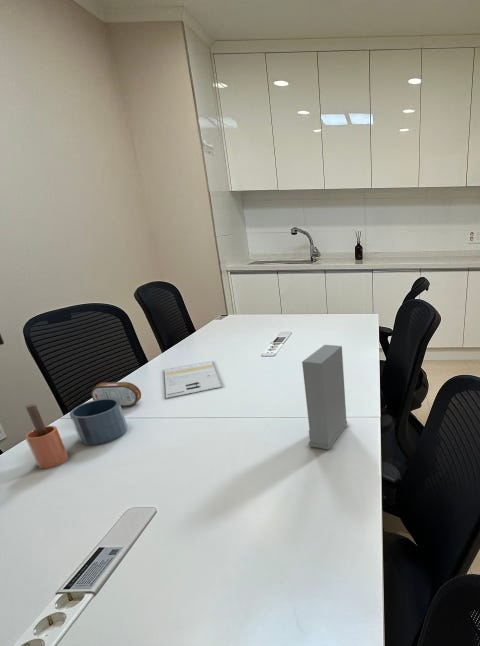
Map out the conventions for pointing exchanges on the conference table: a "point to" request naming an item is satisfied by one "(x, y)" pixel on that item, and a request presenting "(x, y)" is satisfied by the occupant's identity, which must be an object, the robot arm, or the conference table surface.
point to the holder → (47, 447)
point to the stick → (36, 420)
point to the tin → (117, 392)
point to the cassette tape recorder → (325, 395)
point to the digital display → (190, 379)
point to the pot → (99, 421)
